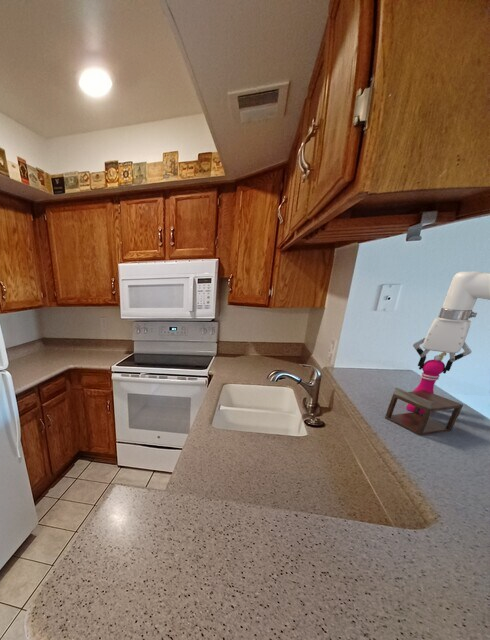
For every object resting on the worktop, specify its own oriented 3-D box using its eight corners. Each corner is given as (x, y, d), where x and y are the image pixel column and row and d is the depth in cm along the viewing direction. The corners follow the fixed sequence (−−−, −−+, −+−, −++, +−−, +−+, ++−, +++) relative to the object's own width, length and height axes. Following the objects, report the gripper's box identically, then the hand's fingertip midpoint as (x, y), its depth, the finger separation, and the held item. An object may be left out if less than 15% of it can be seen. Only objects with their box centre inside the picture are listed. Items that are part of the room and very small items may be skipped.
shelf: (414, 414, 116) (426, 384, 110) (451, 430, 104) (466, 398, 99) (384, 418, 113) (395, 387, 108) (418, 435, 102) (432, 402, 96)
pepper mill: (427, 416, 114) (450, 359, 104) (402, 410, 118) (423, 355, 109) (430, 409, 119) (453, 355, 109) (406, 404, 123) (426, 351, 113)
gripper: (490, 316, 100) (465, 373, 109) (422, 311, 110) (404, 363, 119) (490, 319, 95) (463, 378, 104) (419, 313, 106) (400, 368, 114)
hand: (432, 370), depth 111 cm, fingers closed on pepper mill, 6 cm apart
